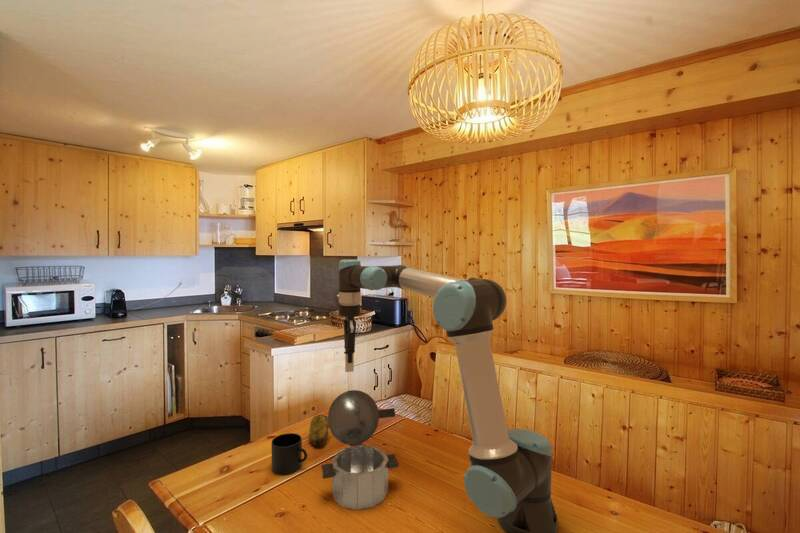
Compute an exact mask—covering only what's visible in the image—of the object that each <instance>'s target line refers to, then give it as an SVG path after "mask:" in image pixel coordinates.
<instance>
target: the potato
mask: <svg viewBox="0 0 800 533" xmlns="http://www.w3.org/2000/svg"><path fill="white" fill-rule="evenodd" d="M329 430H330V428H329V425H328V415H327V416H326V415H325V414H318V415H315V416H313V418H312V419H311V420H310V425H309V434H308V437H309V441H310V443H311V444H312V445H313V446H316V447H321V446H323V445H324V444H325V443H326V441H327V440H326V439H327V437H328V435H329Z"/></svg>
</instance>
